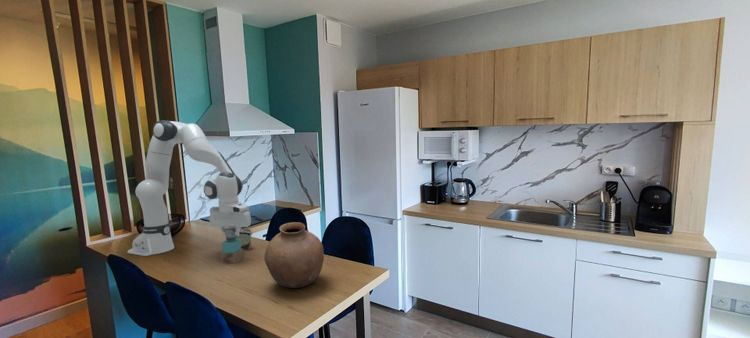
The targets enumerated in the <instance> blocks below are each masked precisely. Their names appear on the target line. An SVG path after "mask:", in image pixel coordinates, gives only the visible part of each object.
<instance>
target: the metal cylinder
mask: <svg viewBox="0 0 750 338" xmlns="http://www.w3.org/2000/svg"><path fill="white" fill-rule="evenodd" d="M224 228H225V235H224V236H225V241H226V240H234V239H236V238H237V236H235V233H234V232H236V230H237V229H236V227H224Z"/></svg>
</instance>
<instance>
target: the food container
mask: <svg viewBox="0 0 750 338" xmlns="http://www.w3.org/2000/svg"><path fill="white" fill-rule="evenodd" d="M236 231H237V229H236ZM252 235H253V233H252V230H251V229H250V228H241V229H240V231H239V235H238V236H237V238H236V239H241V249H243V251H250V250H251V249H252V247H251V245H252V244H251V243H252V242H251V241H252Z"/></svg>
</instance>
